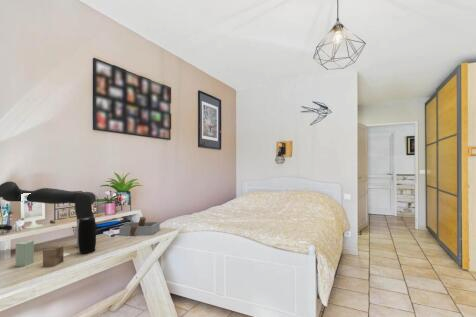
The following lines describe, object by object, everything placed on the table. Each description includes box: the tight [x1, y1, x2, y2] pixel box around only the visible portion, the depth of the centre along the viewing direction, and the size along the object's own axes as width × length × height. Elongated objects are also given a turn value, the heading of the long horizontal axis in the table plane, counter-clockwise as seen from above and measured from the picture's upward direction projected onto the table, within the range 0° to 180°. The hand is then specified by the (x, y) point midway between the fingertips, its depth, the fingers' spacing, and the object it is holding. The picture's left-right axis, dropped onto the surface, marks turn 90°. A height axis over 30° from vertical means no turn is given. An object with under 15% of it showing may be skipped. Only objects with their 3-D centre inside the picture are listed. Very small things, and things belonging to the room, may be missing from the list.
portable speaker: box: [78, 216, 97, 255], centre depth 146 cm, size 9×9×20 cm
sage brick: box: [15, 240, 35, 267], centre depth 129 cm, size 5×5×11 cm
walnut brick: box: [42, 245, 64, 267], centre depth 128 cm, size 6×6×8 cm
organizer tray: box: [118, 221, 161, 237], centre depth 188 cm, size 16×24×6 cm, turn 88°
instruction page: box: [40, 252, 72, 260], centre depth 139 cm, size 8×11×1 cm
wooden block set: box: [130, 216, 150, 236], centre depth 187 cm, size 18×9×10 cm, turn 153°
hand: (3, 229), depth 130 cm, fingers open, 8 cm apart
